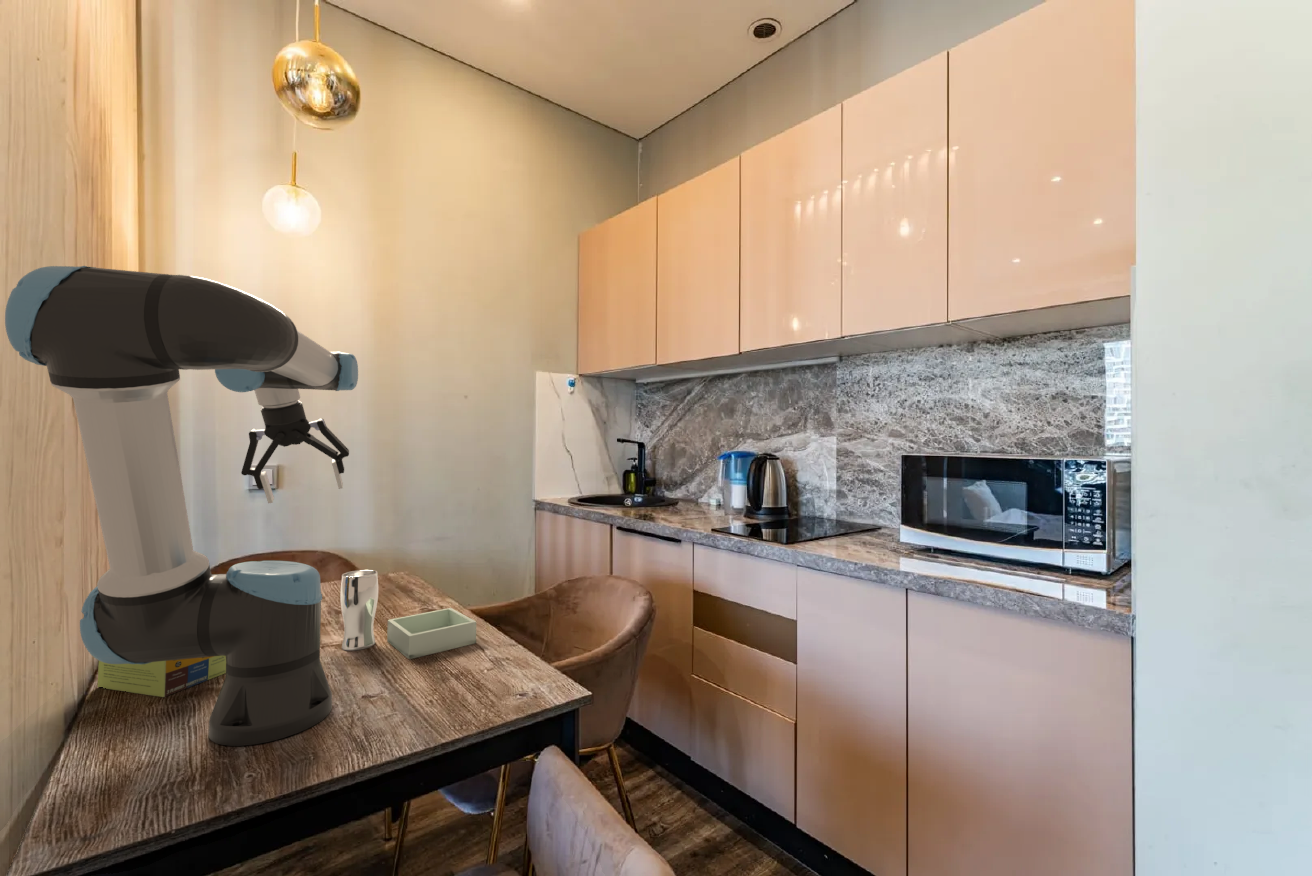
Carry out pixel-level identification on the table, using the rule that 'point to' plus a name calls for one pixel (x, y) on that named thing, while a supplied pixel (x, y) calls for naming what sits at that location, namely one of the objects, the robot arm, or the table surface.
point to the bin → (431, 632)
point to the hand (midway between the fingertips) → (306, 493)
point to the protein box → (160, 675)
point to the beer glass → (358, 608)
